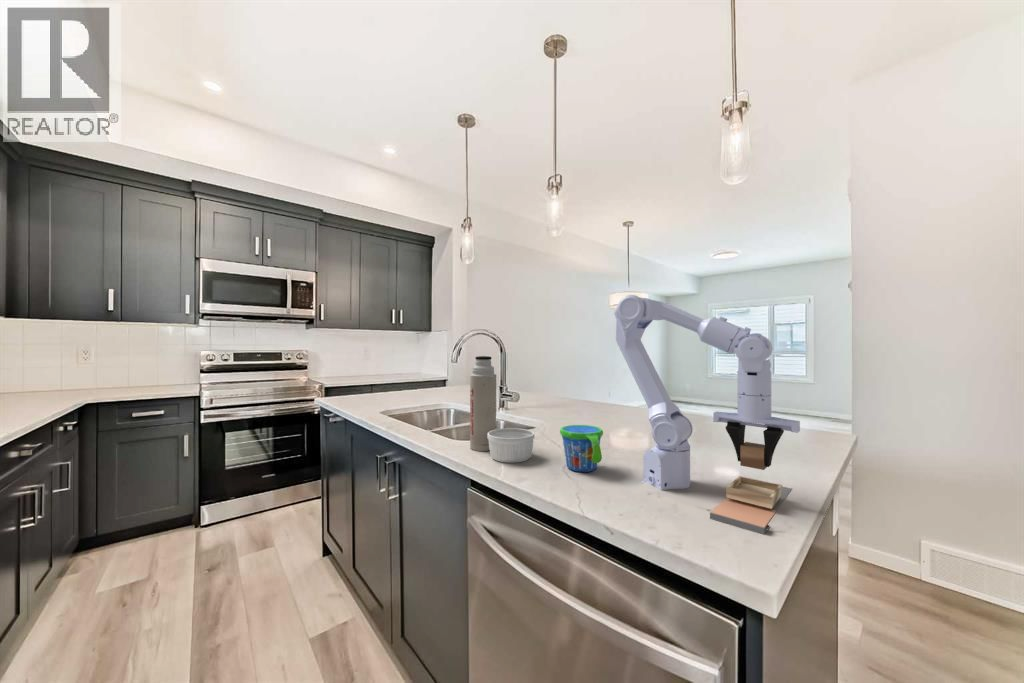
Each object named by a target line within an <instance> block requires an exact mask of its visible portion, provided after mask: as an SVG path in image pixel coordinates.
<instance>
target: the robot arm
mask: <svg viewBox="0 0 1024 683" xmlns="http://www.w3.org/2000/svg"><path fill="white" fill-rule="evenodd" d="M613 314H614V316H615V319H616V322H615V326H616V327H615V341H616V343H617V346H618V348H619V350H620V351H621V354H622V356H623V358H624V360H625V362H626V364H627V366H628V369H629V371H630V373H631V375H632V377H633V378H634V380H635V381H634V382H635V383H636V385H637V387H638V389H639V391H640V394H641V395H642V397H643V400H644V401H645V404H646V406H647V408H648V420H649V423H650V426H651V437H652V439H653V442H654V444H655V445H654V446H652V448H650V449H646V451H645V452H644V453H643V454H644V455H643V480H641V484H645V483H647V484H648V485H650V486H652V487H654V488H656V489H658V490H660V491H666V490H674V489H678V490H680V489H687V488H690V487H691V445H690V443H689V440H688V439H690V438H691V436H692V435H693V425H692V422H691V420H690V419H689V418H688V417H687V416H685V415H684V413H682V411H681V409H680V407H679V406H677V404H675V403H674V402H673V401H672V399H671V398H670V396H669V393H668V392H667V389H666V388H665V385H664V384H663V382H662V379H661V378H660V375H659V373H658V371H657V368H655V366H654V364H653V361H652V360H651V358H650V356H649V354H648V352H647V350H646V347H645V346H644V343H643V341H642V338H643V335H644V333H645V330H646V329H647V328H648V326H650V325H651V323H652V322H653V321H663V320H665V321H667V322H670V323H672V324H675V325H677V326H679V327H682V328H684V329H687V330H689V331H692V332H694V333H696V334H697V335H698V336H699V340H700V341H701V342H702V343H704V344H707V345H709V346H711V347H713V348H715V349H718V350H720V351H723V352H724V353H727V354H729V355H733V354H735V356H736V358H737V360H738V365H737V366H738V367H737V368H738V370H737V412H725V411H715V412H713V417H712V418H713V419H712V420H713V423H724V424H725V423H726V425H725V430H726V432H727V434H728V436H729V437H730V439H731V442H732V444H733V447H734V450H735V453H736V458H737V462H740V445H742V444H743V443H745V434H746V427H747V426H749V427H756V428H764V430H763V432H762V433H763V441H764V445H765V457H764V463H765V466H766V467H767V468H770V467H771V466H772V460H773V456H774V453H775V450H776V447H777V445H778V444H779V441H780V439H782V438H781V437H782V436H783V434H784V432H786V431H787V432H791V433H796V434H798V433H800V432H801V421H800V420H794V419H787V418H783V417H775V416H772V372H771V368H772V367H771V365H772V363H771V359H770V356H771V355H772V352H773V345H772V342H771V340H770V339H768V337H766V336H764V335H763V334H761V333H759V332H756V333H755V332H754V333H751V331H752V328H750V327H747V326H745V327H744V328H743V327H741V326H738V325H736V324H734V323H730V322H728V318H726V317H725V316H719V317H715V316H712V317H709V318H707V319H703V318H701V317H699V316H697V315H694V314H692V313H690V312H688V311H686V310H683V309H681V308H679V307H677V306H674V305H672V304H669V303H667V302H663V301H661V300H660V301H658V300H654V299H651V298H648V297H639V296H638V295H637V294H636V295H635V294H627V295H625V296H624V297H622V298H621V299H620V300H619V302H618V303H617V306H616V309H615V310H614V313H613Z"/></svg>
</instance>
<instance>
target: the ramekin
mask: <svg viewBox="0 0 1024 683" xmlns="http://www.w3.org/2000/svg"><path fill="white" fill-rule="evenodd" d="M487 438H488V440H489V449H490V451H489V455H490V457H491V458H492V459H493V460H494V461H497V462H500V463H506V464H507V463H508V464H509V463H510V464H511V463H512V464H513V463H522V462H525V461H528V460H529V459H530V458H531V456H532V454H533V449H534V440H535V432H534V431H532V430H530V429H526V428H525V429H524V428H519V427H517V428H516V427H506V428H505V427H504V428H496V429H495V430H492V431H489V432H488V436H487Z"/></svg>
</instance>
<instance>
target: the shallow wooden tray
mask: <svg viewBox="0 0 1024 683" xmlns="http://www.w3.org/2000/svg"><path fill="white" fill-rule="evenodd" d="M782 486H783V485H782V484H779V483H774V482H769V481H764V480H759V479H754V478H750V477H745V476H740V475H739V476H738V477H737V478H735V479H733V481H732V482H731V483H729V484H728V485H727V486H726V488H725V497H726V498H730V499H734V500H738V501H742V502H746V503H750V504H754V505H758V506H762V507H766V508H770V509H773V507H774V505H775V504H776V503H777V501H778V500H780V497H781V496H782Z"/></svg>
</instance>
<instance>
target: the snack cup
mask: <svg viewBox="0 0 1024 683" xmlns="http://www.w3.org/2000/svg"><path fill="white" fill-rule="evenodd" d="M559 433H560V435H561V437H562V444H563V451H564V456H565V463H566V468H568V469H569V470H571V471H573V472H581V473H585V472H592V471H594V470H596V469H597V466H598V464H599V463H600V462H601V461H602V459H603V457H602V456H603V455H602V450H601V446H600V445H601V438H602V437H603V435H604V430H603V429H602V428H601V427H598V426H595V425H594V426H593V425H588V424H569V425H565V426H562V427H561V428H560V430H559Z"/></svg>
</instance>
